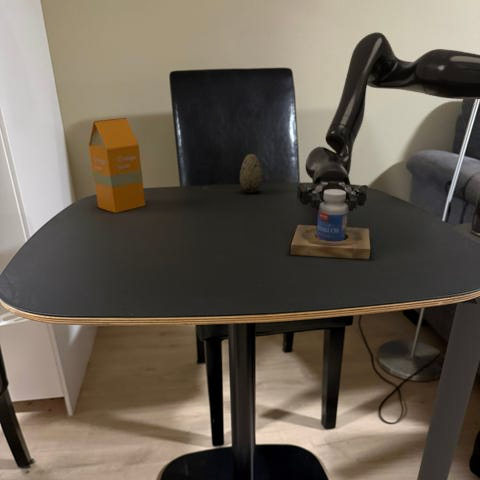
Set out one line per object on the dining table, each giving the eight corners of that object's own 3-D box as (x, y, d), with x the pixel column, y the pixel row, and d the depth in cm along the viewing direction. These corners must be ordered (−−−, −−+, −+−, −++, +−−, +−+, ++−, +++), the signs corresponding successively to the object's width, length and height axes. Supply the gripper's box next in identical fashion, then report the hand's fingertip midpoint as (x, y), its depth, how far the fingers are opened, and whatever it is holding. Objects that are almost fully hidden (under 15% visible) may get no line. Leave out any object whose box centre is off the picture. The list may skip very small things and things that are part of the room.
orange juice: (145, 205, 119) (136, 118, 110) (115, 213, 114) (102, 122, 104) (127, 200, 124) (116, 116, 114) (97, 207, 118) (83, 119, 109)
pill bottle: (312, 245, 91) (315, 193, 86) (320, 236, 95) (323, 186, 90) (340, 249, 89) (345, 196, 84) (347, 240, 93) (352, 189, 88)
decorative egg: (237, 194, 128) (237, 155, 123) (242, 189, 133) (242, 151, 128) (259, 195, 127) (260, 156, 122) (263, 190, 132) (264, 152, 127)
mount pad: (367, 237, 96) (368, 228, 95) (369, 259, 85) (370, 249, 84) (297, 234, 98) (297, 224, 97) (290, 254, 88) (291, 244, 87)
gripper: (363, 201, 101) (372, 226, 87) (295, 199, 103) (293, 224, 88) (367, 164, 98) (378, 184, 83) (296, 163, 99) (295, 183, 85)
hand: (334, 205), depth 86 cm, fingers closed on pill bottle, 5 cm apart
